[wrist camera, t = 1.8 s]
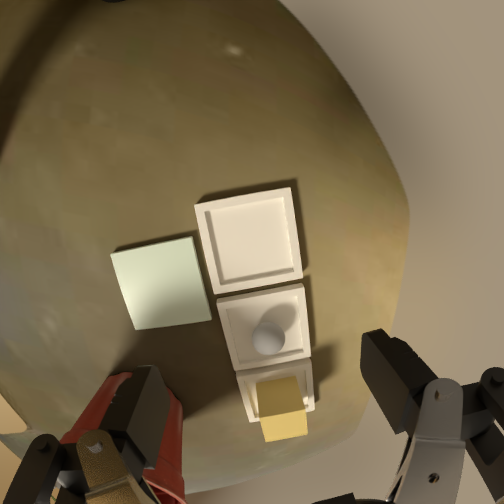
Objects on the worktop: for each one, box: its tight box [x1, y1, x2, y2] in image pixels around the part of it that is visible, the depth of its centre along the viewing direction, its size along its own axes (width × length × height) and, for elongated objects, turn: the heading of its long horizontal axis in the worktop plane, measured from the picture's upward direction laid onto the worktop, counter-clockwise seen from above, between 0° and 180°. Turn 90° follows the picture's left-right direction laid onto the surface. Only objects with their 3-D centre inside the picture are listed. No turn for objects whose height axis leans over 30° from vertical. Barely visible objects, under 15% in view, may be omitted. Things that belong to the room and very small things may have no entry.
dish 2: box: [216, 283, 311, 371], centre depth 29 cm, size 9×9×1 cm
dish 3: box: [236, 357, 315, 422], centre depth 32 cm, size 9×9×1 cm
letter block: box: [256, 376, 308, 442], centre depth 29 cm, size 5×5×6 cm
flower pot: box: [59, 372, 188, 504], centre depth 25 cm, size 16×16×16 cm
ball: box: [251, 322, 285, 355], centre depth 28 cm, size 4×4×4 cm
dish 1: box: [194, 187, 303, 294], centre depth 27 cm, size 9×9×1 cm
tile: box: [110, 236, 212, 330], centre depth 28 cm, size 9×9×1 cm
